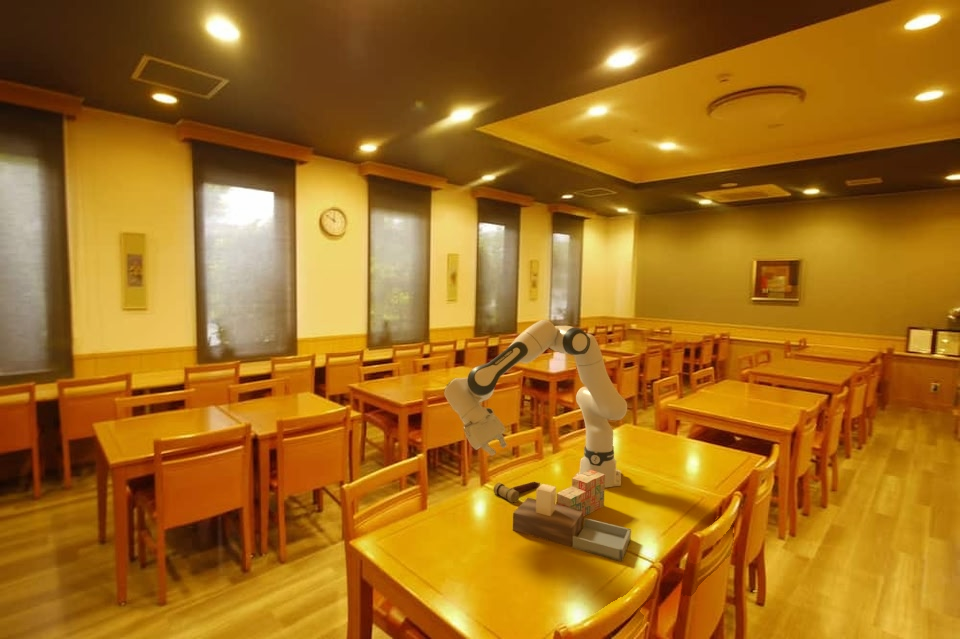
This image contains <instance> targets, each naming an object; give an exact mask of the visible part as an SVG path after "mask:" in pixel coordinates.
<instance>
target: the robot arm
mask: <svg viewBox="0 0 960 639" xmlns="http://www.w3.org/2000/svg"><path fill="white" fill-rule="evenodd" d="M546 350H550V351H553V352H556V353H559V354H565V355H566V354H567V355H571V356H573V357H574V362H575V365H576V369H577V373H578V376H579V379H580V382H581V383H582V384H583V386H582V387H580V388H579V390H578V391H577V392H576V395H575V401H576V404H577V405H578V407H579V408H580V411H581V414H582V417H583V420H584V421H583V422H584V426H585V446H584V451H583V452H584V454H583V457H581V459H580V464H579V472H577V473H576V474H575V477H576V476H577V475H580V474H582V473H584V472H587V471H589V470H593V471H596V472H599V473H602V474H605V488H612V487H621V486H622V471H621V470H619V469H617V460H616V459H615V451H614V450H615V447H614V430H613V428H612V426H611V425H610V423H609V420H610V421H611V420H612V421H620V420H622V419H623V418H624V417H625V416H626V414H627V411H628V403H627V401H626V399H625V398H624V397H623V396H622V395H621V394H620V393H619V392H618V390H617V389H616V387H615V385H614V383H613V382H612V380H611V379H610V377H609V374H608V371H607V368H606V365H605V362H604V358H603V354H602V351H601V348H600V346H599V343H598V341H597V339H596V337H595V336H594V335H593V334H590V333H586V331H585V330H583V329H582V328H580V327H575V326H572V325H571V326H570V325H559V324H554V323H553V322H551V321H550V320H547V319H540V320H538V321H536V322H535V323H533V324H532V325H530V326H528V327H527V328H526V329H525V330H523V331H522V332H521V333H520V334H518V336H516V337H515V339H514V340H513V341H512V342H511V344H509V345H508V347H507V348H505V349H504V350H503V351H502V352H500V353H499V355H497V356H496V357H494V358H493V359H492V360H490V361H489V362H486V363H484V364H480V365H478V366H476V367H473V368H472V369H471V371H470V372H469V373H468V375H467V377H456V378H453V379H451V381H450V382H448V384H446V387H445V388H444V392H443V394H444V397H445V399H446V401H447V403H448V404H449V405H450V407H451V409H452V410H453V411H454V412H455V413H457V415H458V417H459V420H460V421H461V422H462V423H463V426H462V428H463V432H464V436H465V437H466V440H467V441H468V443H469V445H470V446H471V447H472V448H473V449H474V450H476V451H477V450H479V449H480V448H482V450H483V451H485V452H487V453H488V454H489V455H490V457H493V456H495V454H496V453H497V451H496V450H495V448H492V447H491V446H490V445H489V443H490V442H492V441H493V440H495V439H497V441H499V446H500V447H501V448H502V449H505V448H506V447H508V443H507V442H506V440H505V437H504V435H503V433H504V432H506V427H505V425H504V424H503V422H502V421H501V420H500V418H499V417H498V416H497V415H496V414H494V413H495V411H494V410H493V408H491V407H484V406H483V405H481V403H483V402H484V401H487V400H488V399H490V398H491V397H492V396H493V394H494V391H495V388H496V386H497V383H498V381H499V380H500V378H501V377H502V376H504V375H505V373H507V372H508V371H509V370H510V369H512V368H513V367H514V366H516V365H517V364H519V363H521V364H529V363H531V362H533V361H534V360H536V359H537V358H538V357H540V356H542V354H543V353H545V351H546Z"/></svg>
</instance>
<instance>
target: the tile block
mask: <svg viewBox="0 0 960 639" xmlns="http://www.w3.org/2000/svg"><path fill="white" fill-rule="evenodd" d="M556 492H557V486H553V485H550V484H546V483H545V484H544V483H540V485H539V486H537V487H536V496H535V498H536V513H540V514H544V515H548V516H551V515H552V513H553V512H554V511H555V504H556V501H557V493H556Z"/></svg>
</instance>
